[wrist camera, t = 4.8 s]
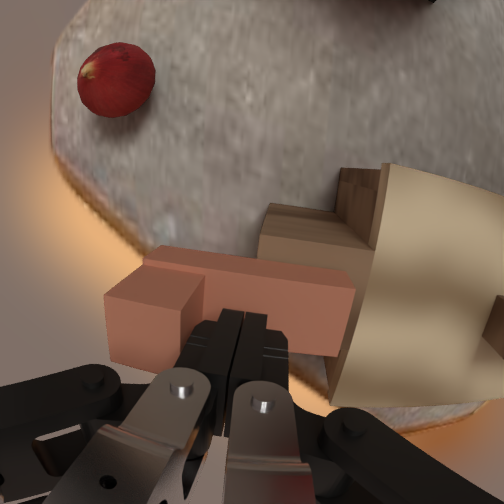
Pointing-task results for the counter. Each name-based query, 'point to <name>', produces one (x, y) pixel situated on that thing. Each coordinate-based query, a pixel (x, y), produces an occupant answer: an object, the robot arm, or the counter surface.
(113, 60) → the onion
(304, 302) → the l-shaped block
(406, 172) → the lid
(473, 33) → the counter surface
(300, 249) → the brown open box piece
